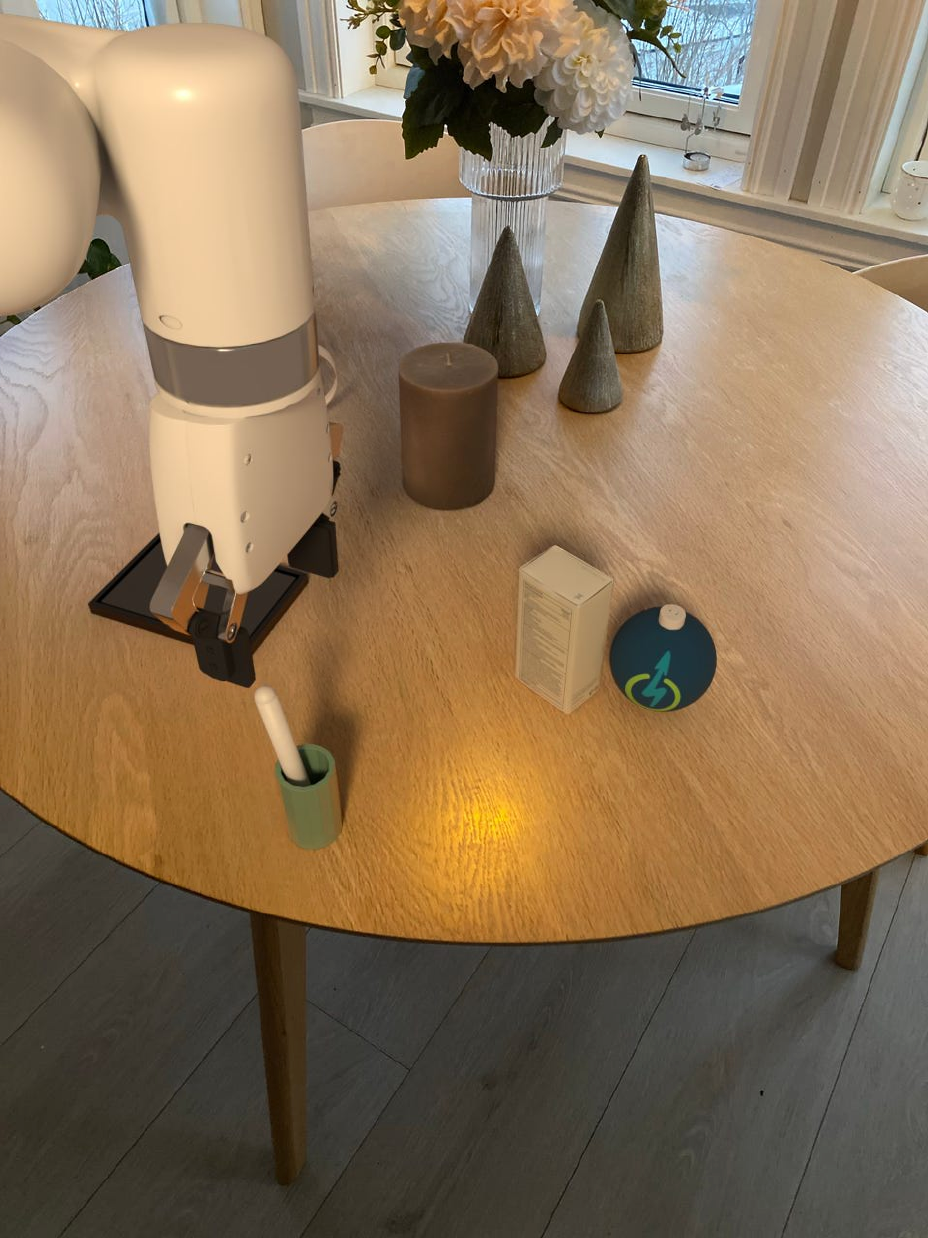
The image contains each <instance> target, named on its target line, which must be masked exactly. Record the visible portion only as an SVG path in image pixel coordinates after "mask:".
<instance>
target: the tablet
mask: <svg viewBox="0 0 928 1238" xmlns="http://www.w3.org/2000/svg"><path fill="white" fill-rule="evenodd" d="M160 541H161V538H160V533H159V532H158V533H157V534H156V535H155V536H154V537H153V538H152V539H151V540H150V541H149V542H148V543H146V545H145V546H143V548H142V549H140V551H139V552H138V553H137V554H136V555H135V556H134V557H133V558H132V559H131V560H130V561H129V562H128V563H127V564H126V565H125V566H124V567H122V569H121V570H120V571H118V573H116V575H115V576H114V577H113V578H112V579H111V580H110V581H109V582H107V584H105V586H104V587H103V588H102V589H101V590H100V591H99V592H98V593H97V594H96V595H95V596H93V598H92V599H90V601H89V602H88V603H87V605H88V609H89V611H90V614H92V615H96V616H99V617H101V618H105V619H107V620H111V621H115V622H118V623H121V624H123V625H128V626H130V627H134V628H136V629H140V630H144V631H147V632H150V633H152V634H156V635H159V636H162V637H166V638H169V639H172V640H176V641H178V642H182V643H185V644H189V645H191V646H194V643H193V638H192V636H191V635H188V634H184V633H181V632H178V631H175V630H172V629H169V628H168V627H167V626H166V624H165V623H163V622H160V621H157V620H153V619H150V618H147V617H144V616H141V615H137V614H134V613H131V612H128V611H124V610H121V609H118V608H115V607H111V606H108V605H105V604H102V602H101V601H102V600H103V599H104V598H105V597H106V596H107V595H108V594H109V593H110V592H111V591H112V590H113V589H114V588H115V587H116V586H117V585H118V584H119V583H120V582H121V581H122V580H123V579H124V578H125V577H126V576H127V575H128V574H129V573H130V572H131V571H132V570H133V569H134V568H135V567H136V566H137V565H138V564H139V563H140V562H141V561H142V560H143V559H144V558H145V557H146V556H147V555H148V554H149V553H150V552H151V550H152V549H153V548H154V547H155V546H156V545H157V544H158V543H159V542H160ZM274 571H275V572H278V573H282V574H285V575H289V576H292V577H296V580H295V582H294V583H293V584H292V585H291V587H290V588H289V589H288V591H287V592H286V593H285V594H284V596H283V597H282V598H281V599H280V601H279V602H278V603H277V604H276V606H275V607H274V608H273V609H272V611H271V612H270V613H269V615H268V616H267V617H266V618H265V620H264V621H263V622H262V623H261V625H260V626H259V627H258V628H257V630H256V631H255V632H254V633H253V635H252V636H251V637H250V644H251V650H252V656H254V654H255V653H257V651H258V649H259V648H260V647H261V645H262V644H263V643H264V641H265V640H266V639H267V637H268V636H269V635H270V634H271V632H272V631H274V628H275V627H276V626H277V625H278V623H279V622H280V621H281V620H282V619H283V617H284V616H285V614H286V613H287V612H288V610H289V609H290V608H291V607H292V605H293V604H294V602H296V600H297V599H298V597H300V595H301V593H303V591H304V590H305V588H306V587H307V586H308V585H309V576H308V575H309V573H308V572H305V571H302V570H298V569H295V568H291V567H290V568H289V567H286V566H284V565H283V566H282V565H280V564H279V565H278V566H277V567H276V568H275V570H274Z"/></svg>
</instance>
